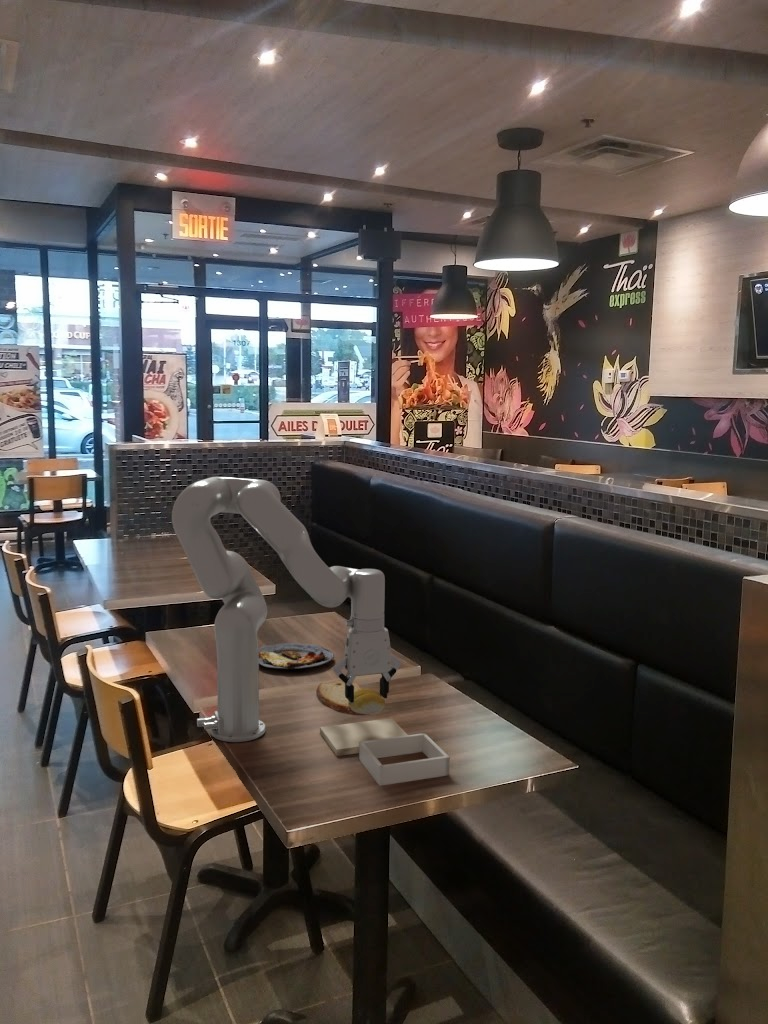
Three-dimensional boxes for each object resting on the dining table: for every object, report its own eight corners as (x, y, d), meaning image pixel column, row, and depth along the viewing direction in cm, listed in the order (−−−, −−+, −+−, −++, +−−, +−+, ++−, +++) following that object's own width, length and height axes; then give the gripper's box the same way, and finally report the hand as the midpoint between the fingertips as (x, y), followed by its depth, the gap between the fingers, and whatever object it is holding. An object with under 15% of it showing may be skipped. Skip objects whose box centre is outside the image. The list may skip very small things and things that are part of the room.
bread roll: (379, 699, 196) (379, 683, 195) (387, 713, 187) (388, 696, 187) (344, 701, 194) (344, 685, 193) (352, 716, 185) (352, 699, 185)
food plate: (347, 665, 243) (347, 654, 242) (276, 680, 230) (276, 668, 229) (306, 645, 263) (306, 635, 263) (238, 658, 250) (238, 647, 250)
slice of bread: (367, 717, 206) (367, 702, 205) (300, 707, 211) (300, 693, 210) (388, 693, 223) (388, 679, 222) (326, 684, 228) (326, 671, 227)
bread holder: (379, 785, 169) (380, 767, 168) (358, 759, 181) (359, 741, 181) (449, 775, 174) (449, 757, 174) (424, 749, 187) (424, 733, 186)
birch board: (336, 756, 182) (336, 749, 182) (320, 733, 194) (320, 727, 194) (412, 745, 189) (412, 739, 188) (391, 724, 201) (391, 718, 201)
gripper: (335, 631, 181) (335, 708, 184) (409, 624, 187) (408, 699, 190) (326, 622, 188) (325, 697, 191) (397, 616, 194) (396, 688, 197)
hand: (367, 697), depth 190 cm, fingers closed on bread roll, 7 cm apart
